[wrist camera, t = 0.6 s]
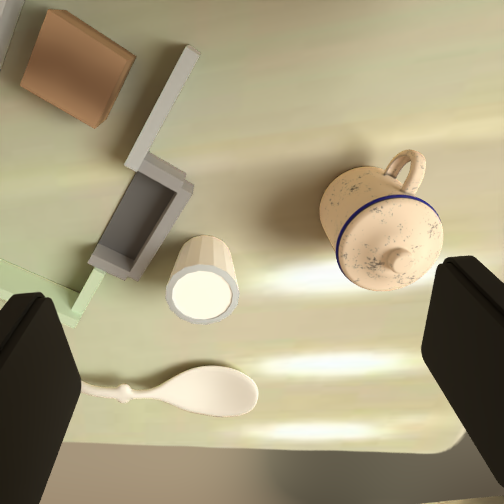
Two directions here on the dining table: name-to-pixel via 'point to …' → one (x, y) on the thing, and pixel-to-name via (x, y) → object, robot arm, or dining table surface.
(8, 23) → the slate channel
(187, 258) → the shot glass
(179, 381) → the spoon
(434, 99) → the dining table surface
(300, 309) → the dining table surface
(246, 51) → the dining table surface
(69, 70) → the walnut block
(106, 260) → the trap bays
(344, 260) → the teacup with lid
